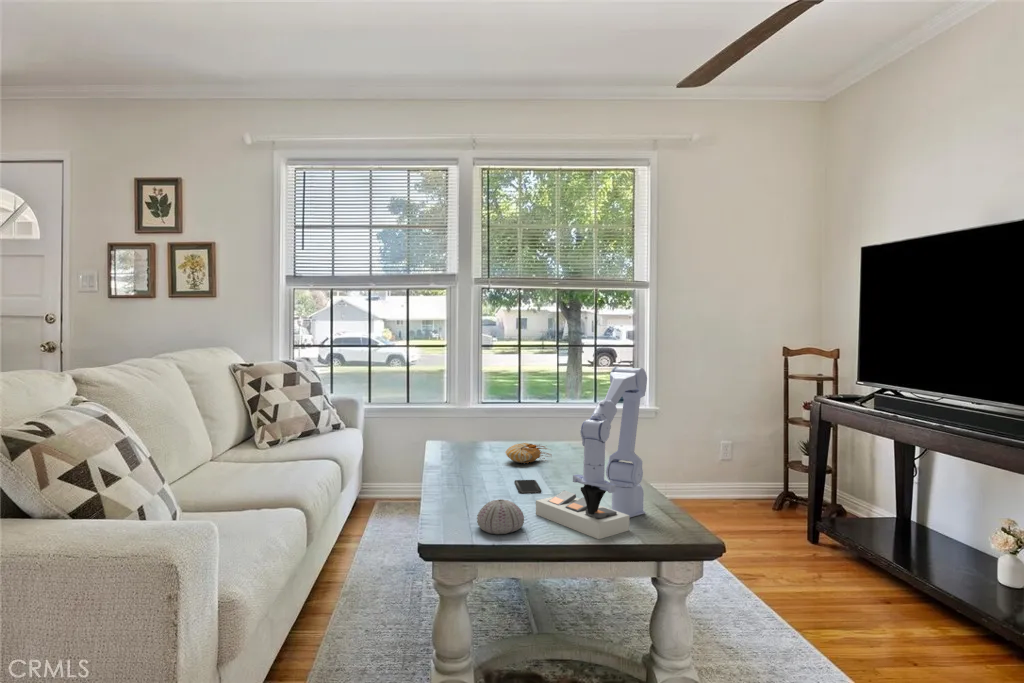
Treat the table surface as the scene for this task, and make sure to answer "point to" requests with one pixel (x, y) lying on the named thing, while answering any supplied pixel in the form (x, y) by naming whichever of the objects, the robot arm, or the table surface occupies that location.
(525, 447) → the nautilus
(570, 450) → the table surface
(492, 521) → the sea urchin shell
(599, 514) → the rocker
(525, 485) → the phone
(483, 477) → the table surface
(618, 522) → the rocker switch panel
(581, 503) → the rocker middle
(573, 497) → the rocker
